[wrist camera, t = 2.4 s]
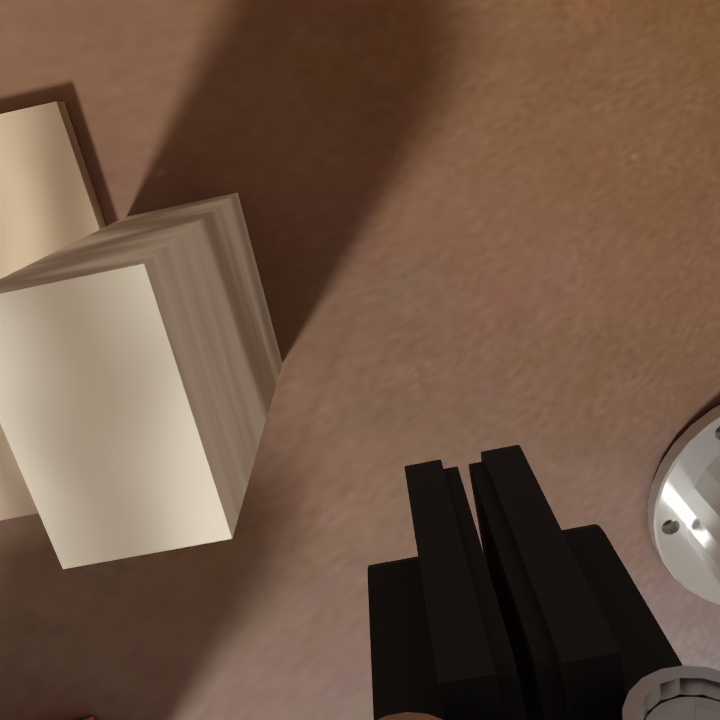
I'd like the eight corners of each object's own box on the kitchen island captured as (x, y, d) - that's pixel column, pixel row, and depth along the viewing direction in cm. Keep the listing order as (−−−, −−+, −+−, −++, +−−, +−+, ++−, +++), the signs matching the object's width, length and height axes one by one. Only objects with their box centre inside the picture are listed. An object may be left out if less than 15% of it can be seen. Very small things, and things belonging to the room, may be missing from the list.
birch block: (237, 192, 30) (144, 263, 17) (282, 362, 33) (232, 538, 19) (126, 216, 30) (-52, 304, 17) (180, 382, 33) (63, 569, 20)
